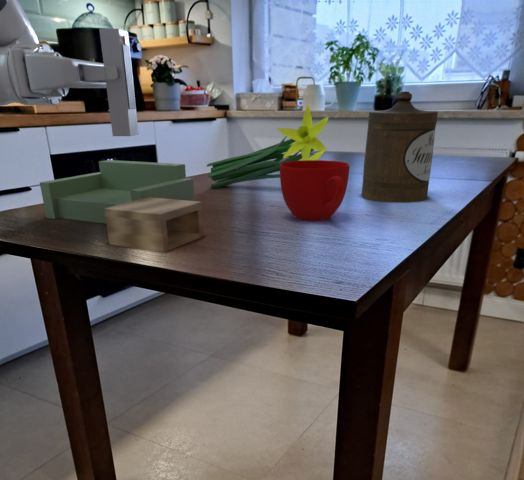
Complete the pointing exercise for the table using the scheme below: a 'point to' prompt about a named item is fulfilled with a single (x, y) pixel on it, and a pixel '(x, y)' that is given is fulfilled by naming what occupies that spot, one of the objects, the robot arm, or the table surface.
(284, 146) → the daffodil flowers
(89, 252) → the table surface
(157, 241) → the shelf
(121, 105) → the grey rectangular block
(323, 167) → the ceramic cup
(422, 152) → the wooden container
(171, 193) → the sofa
